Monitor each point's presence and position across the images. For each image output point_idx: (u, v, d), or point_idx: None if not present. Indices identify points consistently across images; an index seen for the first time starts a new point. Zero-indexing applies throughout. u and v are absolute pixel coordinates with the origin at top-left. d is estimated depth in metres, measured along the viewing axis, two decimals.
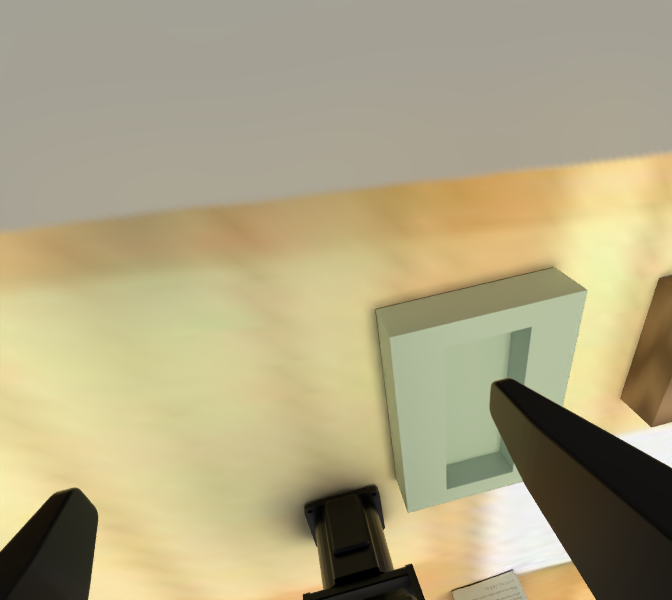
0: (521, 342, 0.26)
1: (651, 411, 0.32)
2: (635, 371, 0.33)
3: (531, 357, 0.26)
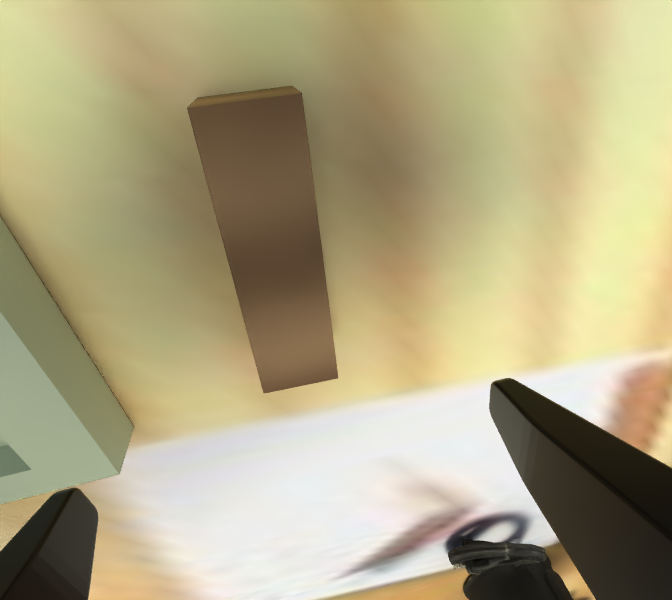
0: None
1: None
2: None
3: None
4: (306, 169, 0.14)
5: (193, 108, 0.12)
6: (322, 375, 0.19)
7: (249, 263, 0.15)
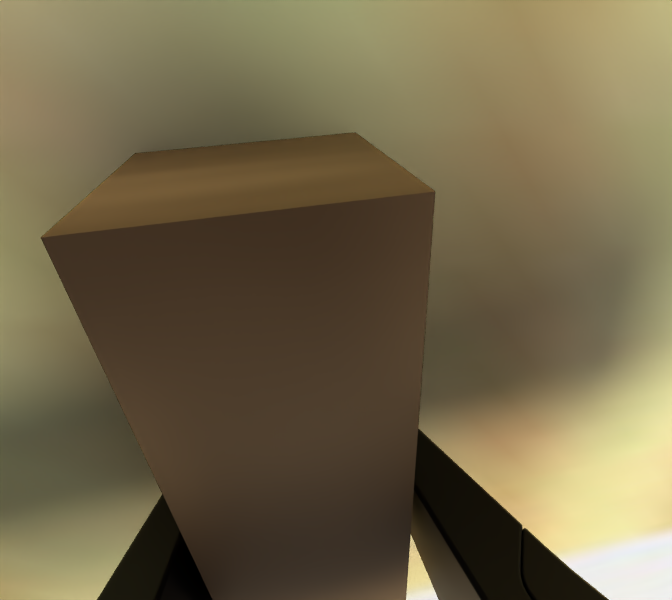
0: None
1: None
2: None
3: None
4: (408, 377, 0.05)
5: (65, 238, 0.03)
6: None
7: (243, 553, 0.06)
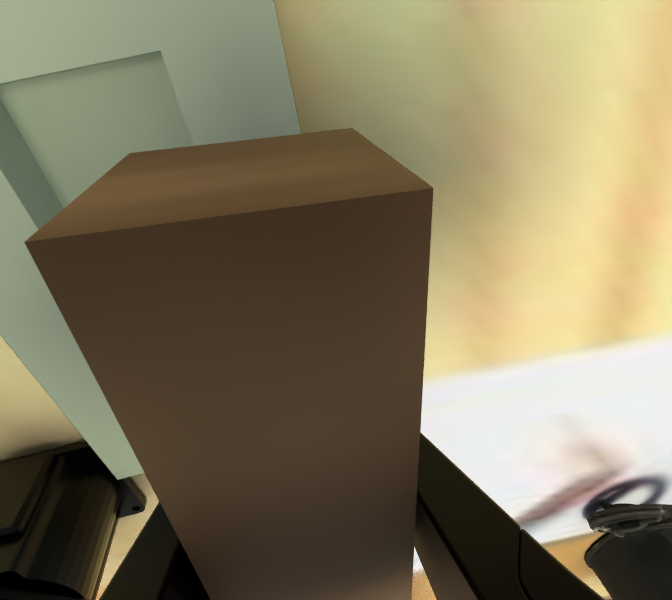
0: None
1: None
2: None
3: (203, 144, 0.12)
4: (409, 379, 0.05)
5: (49, 242, 0.03)
6: None
7: (243, 559, 0.06)
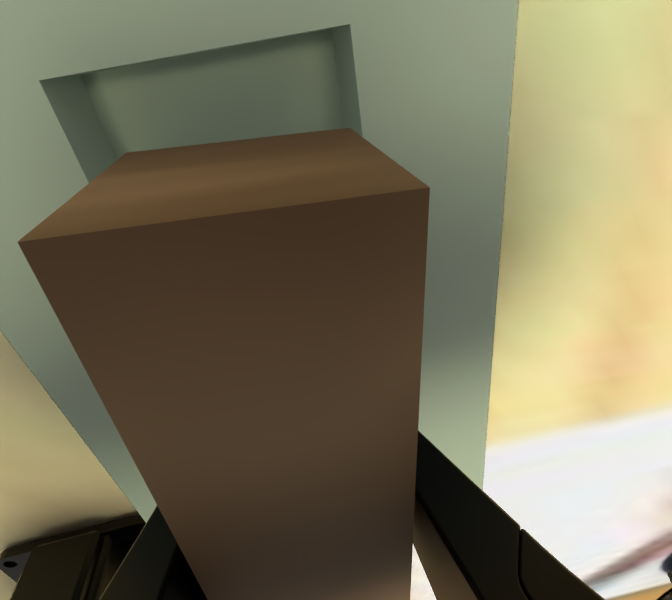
0: (353, 125, 0.09)
1: None
2: None
3: None
4: (407, 380, 0.05)
5: (42, 242, 0.03)
6: None
7: (241, 561, 0.06)
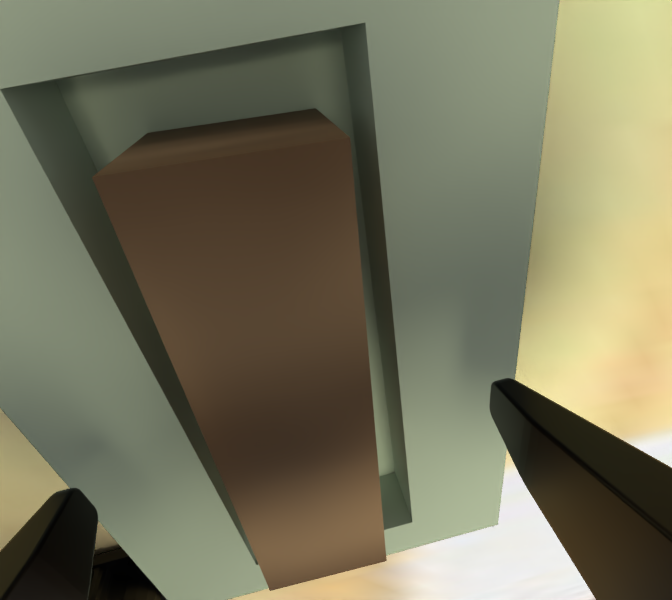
0: (365, 138, 0.08)
1: None
2: None
3: (394, 179, 0.08)
4: (352, 282, 0.07)
5: (106, 177, 0.05)
6: (362, 560, 0.12)
7: (242, 436, 0.08)
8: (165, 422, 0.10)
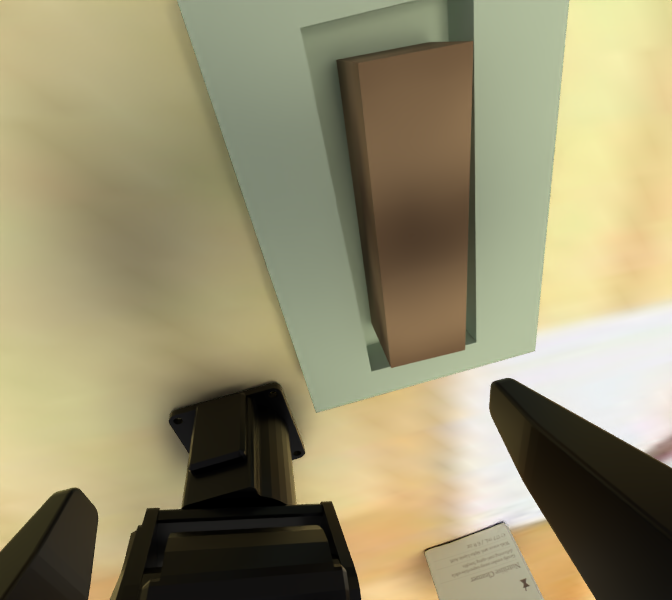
0: None
1: (385, 339, 0.18)
2: (367, 271, 0.19)
3: (481, 75, 0.14)
4: (466, 125, 0.13)
5: (363, 63, 0.12)
6: (450, 347, 0.18)
7: (395, 231, 0.15)
8: (337, 242, 0.16)
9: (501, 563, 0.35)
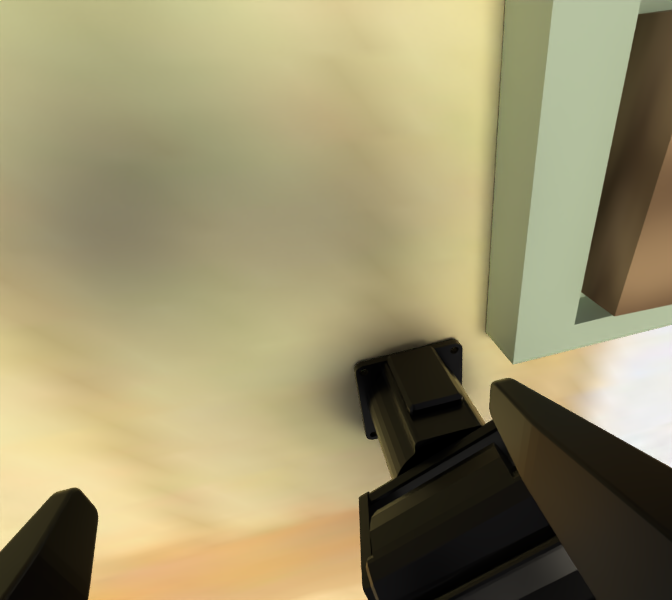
0: None
1: (614, 288, 0.19)
2: None
3: None
4: None
5: None
6: (669, 299, 0.19)
7: None
8: (595, 189, 0.17)
9: None
